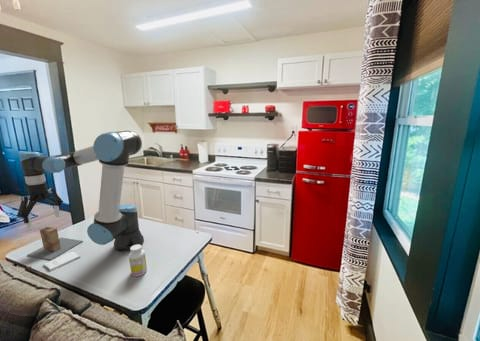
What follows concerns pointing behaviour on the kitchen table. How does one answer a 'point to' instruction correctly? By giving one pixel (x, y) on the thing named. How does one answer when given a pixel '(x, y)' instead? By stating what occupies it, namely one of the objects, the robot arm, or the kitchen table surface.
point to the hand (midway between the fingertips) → (45, 222)
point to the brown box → (50, 239)
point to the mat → (65, 246)
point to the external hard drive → (61, 260)
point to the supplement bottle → (137, 260)
